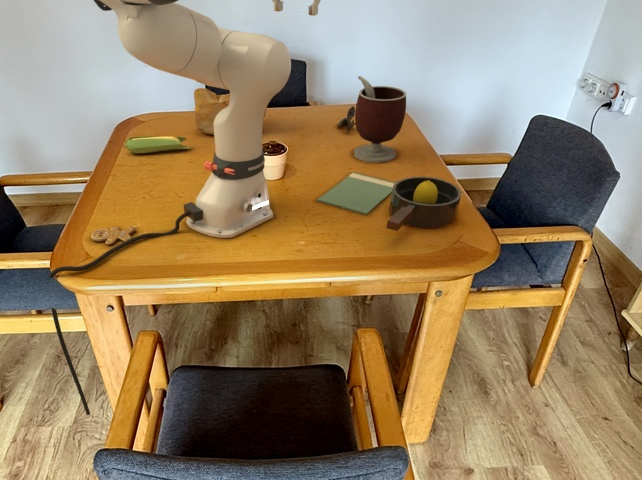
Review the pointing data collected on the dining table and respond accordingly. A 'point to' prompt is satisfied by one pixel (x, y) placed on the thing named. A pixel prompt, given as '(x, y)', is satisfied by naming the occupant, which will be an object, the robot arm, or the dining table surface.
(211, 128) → the rough brown rock
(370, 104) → the mate gourd
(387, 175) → the dining table surface
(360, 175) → the tea towel
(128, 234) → the cookie
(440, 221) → the pan
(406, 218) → the pan handle
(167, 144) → the edible corn
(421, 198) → the lemon
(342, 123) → the eagle figurine
